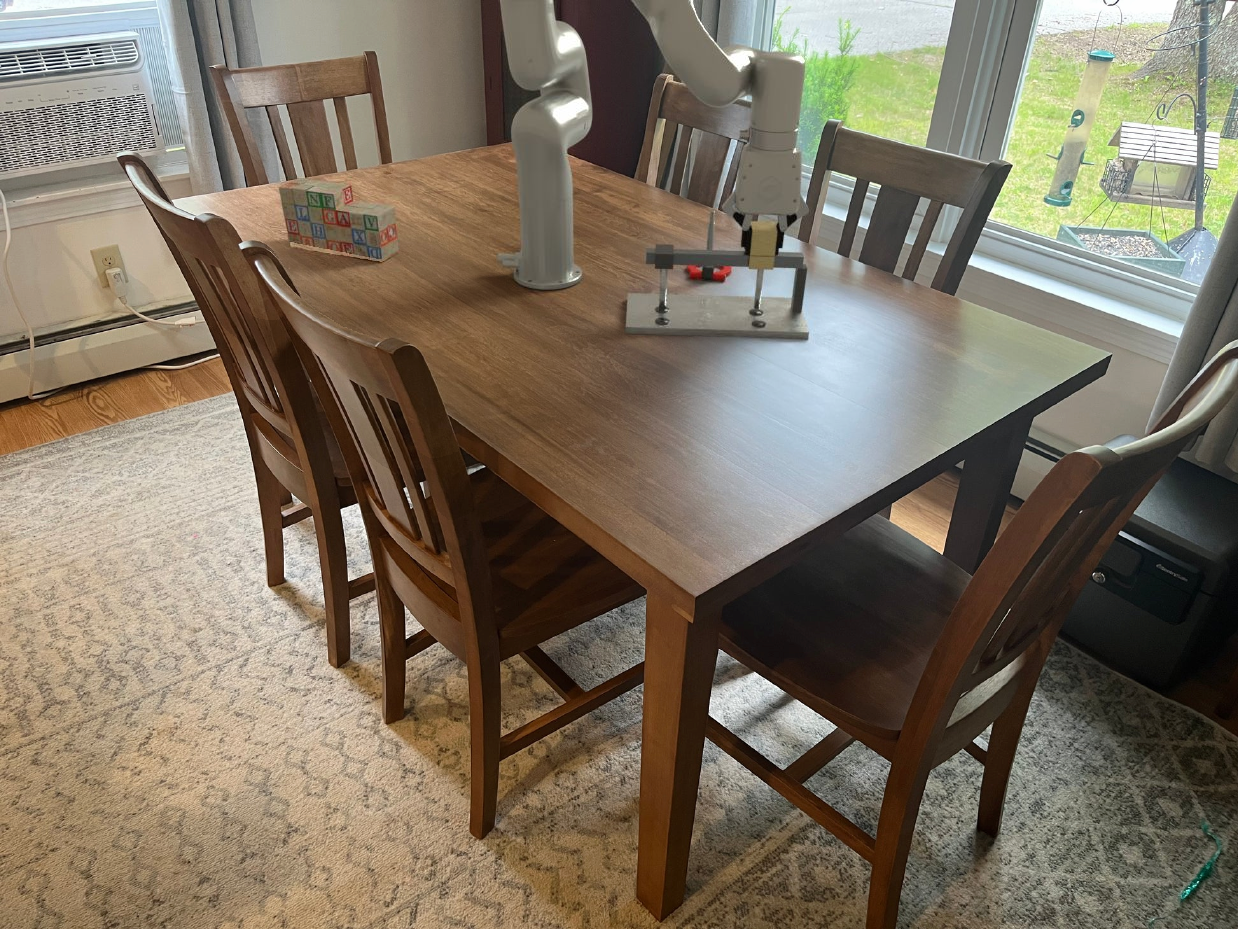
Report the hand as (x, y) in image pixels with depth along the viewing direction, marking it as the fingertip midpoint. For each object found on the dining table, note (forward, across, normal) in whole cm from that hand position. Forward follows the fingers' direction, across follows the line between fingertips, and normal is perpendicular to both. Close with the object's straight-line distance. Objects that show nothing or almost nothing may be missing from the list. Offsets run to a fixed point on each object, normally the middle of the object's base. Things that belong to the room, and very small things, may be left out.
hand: (761, 250), depth 158 cm
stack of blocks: (+12, -78, +25) cm, 83 cm away
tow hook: (+12, -7, +19) cm, 23 cm away
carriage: (+9, 0, 0) cm, 9 cm away
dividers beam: (+10, -6, 0) cm, 12 cm away
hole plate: (+11, -7, -2) cm, 14 cm away
